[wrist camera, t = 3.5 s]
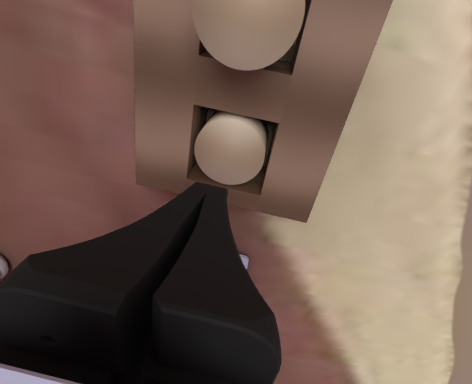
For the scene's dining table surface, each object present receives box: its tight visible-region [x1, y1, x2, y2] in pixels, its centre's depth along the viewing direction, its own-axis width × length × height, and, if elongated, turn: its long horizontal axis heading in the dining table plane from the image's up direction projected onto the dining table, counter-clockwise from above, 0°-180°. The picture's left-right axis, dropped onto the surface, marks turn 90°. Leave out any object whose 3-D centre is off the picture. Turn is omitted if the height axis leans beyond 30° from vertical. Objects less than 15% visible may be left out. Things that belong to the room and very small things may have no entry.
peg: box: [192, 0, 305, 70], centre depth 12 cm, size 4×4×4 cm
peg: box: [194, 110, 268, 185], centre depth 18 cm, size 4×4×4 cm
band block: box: [134, 0, 393, 223], centre depth 16 cm, size 14×11×4 cm
